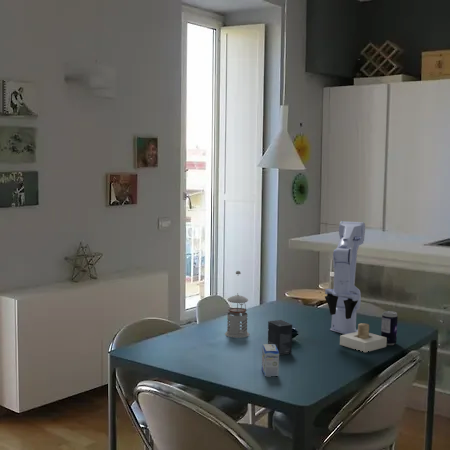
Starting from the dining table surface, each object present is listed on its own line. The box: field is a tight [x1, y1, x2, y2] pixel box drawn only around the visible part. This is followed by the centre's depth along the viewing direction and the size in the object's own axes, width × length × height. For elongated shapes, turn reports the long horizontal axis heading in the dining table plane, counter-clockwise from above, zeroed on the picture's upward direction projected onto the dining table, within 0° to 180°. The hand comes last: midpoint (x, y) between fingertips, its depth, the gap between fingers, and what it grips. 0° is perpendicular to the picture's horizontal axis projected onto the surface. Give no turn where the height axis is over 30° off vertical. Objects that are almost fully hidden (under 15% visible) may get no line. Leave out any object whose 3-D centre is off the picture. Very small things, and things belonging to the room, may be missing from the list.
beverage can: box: [380, 310, 399, 346], centre depth 262 cm, size 6×6×12 cm
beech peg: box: [357, 322, 370, 339], centre depth 259 cm, size 4×4×8 cm
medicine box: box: [261, 343, 280, 378], centre depth 226 cm, size 8×4×9 cm, turn 5°
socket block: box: [339, 332, 387, 353], centre depth 259 cm, size 12×12×4 cm
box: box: [267, 319, 293, 356], centre depth 250 cm, size 8×6×11 cm
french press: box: [224, 270, 250, 339], centre depth 272 cm, size 10×12×25 cm
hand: (340, 316), depth 260 cm, fingers open, 7 cm apart
